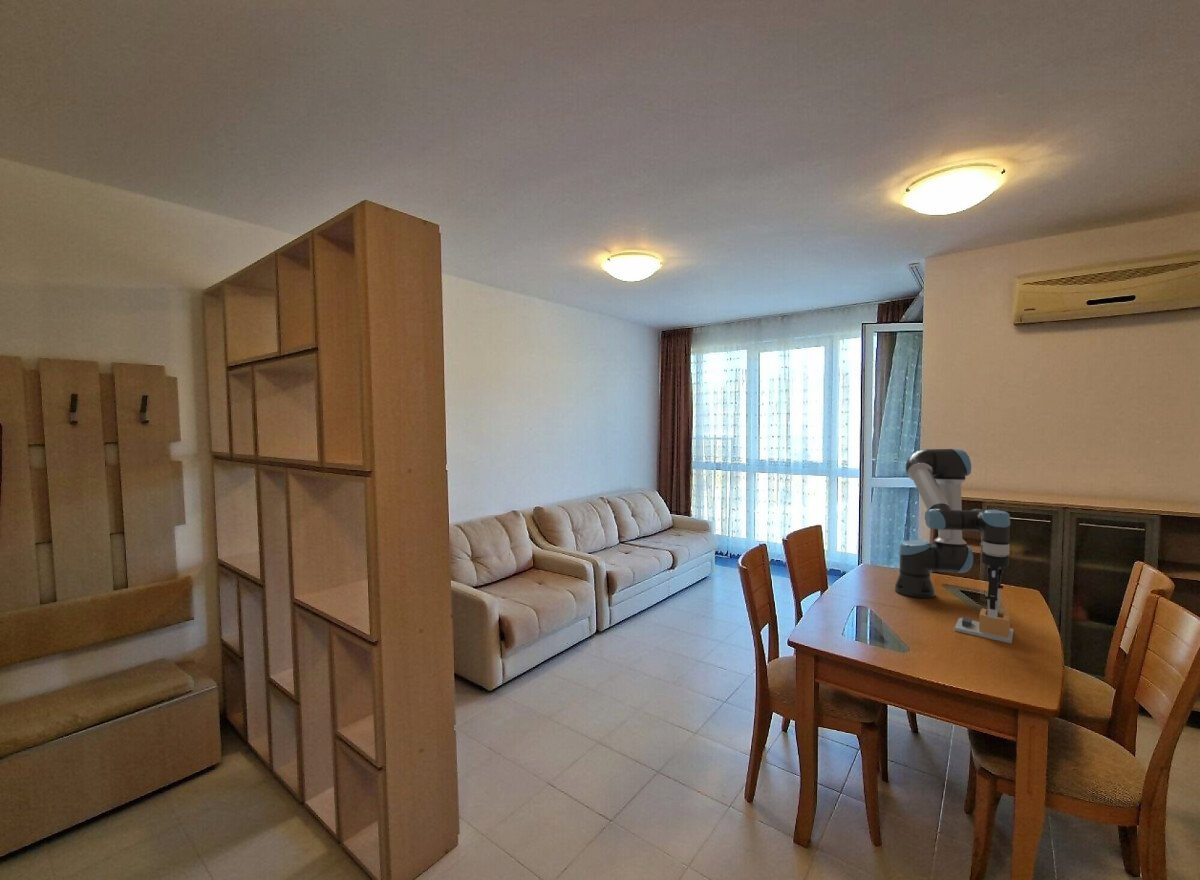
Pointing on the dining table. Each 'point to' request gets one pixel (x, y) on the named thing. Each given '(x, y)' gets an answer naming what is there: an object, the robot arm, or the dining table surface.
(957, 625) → the keeper board
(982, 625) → the link
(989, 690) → the dining table surface
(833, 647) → the dining table surface
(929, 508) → the robot arm
